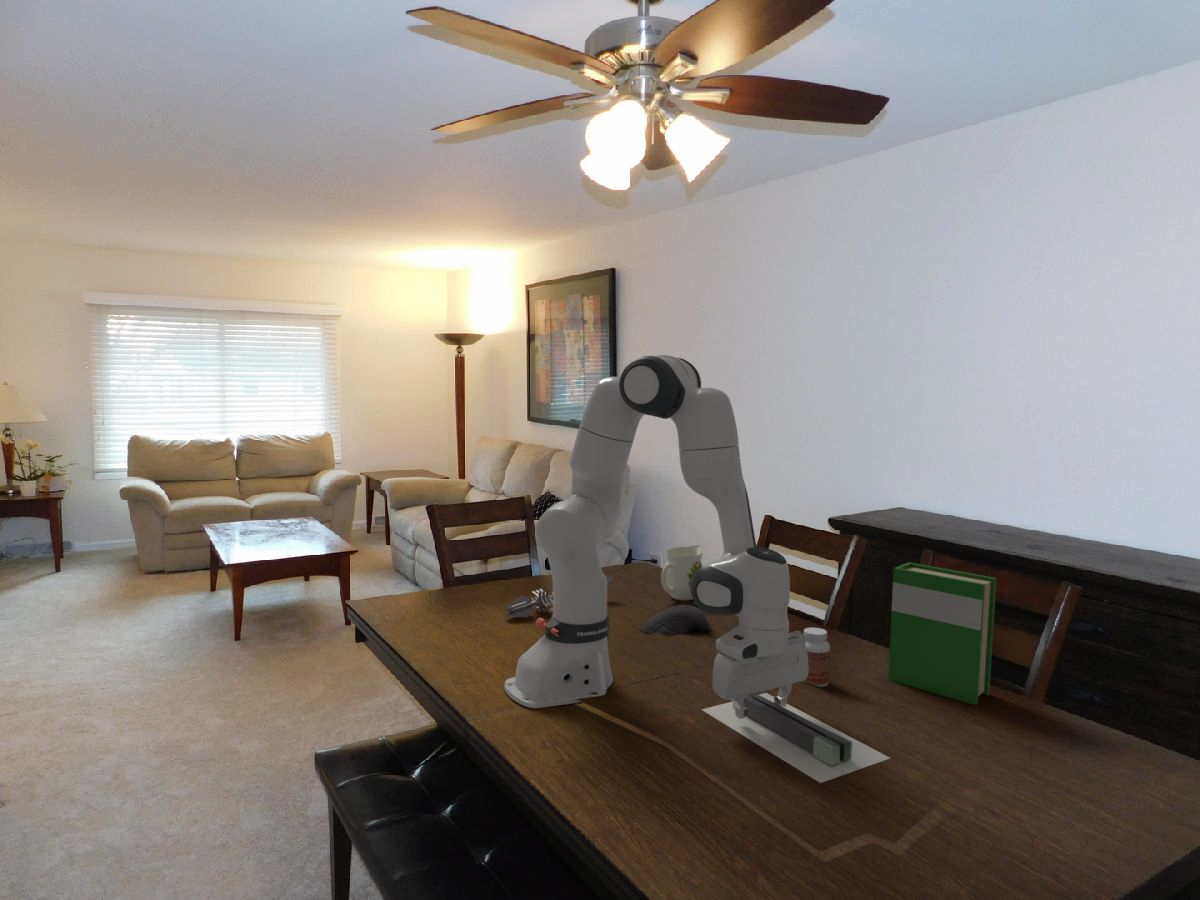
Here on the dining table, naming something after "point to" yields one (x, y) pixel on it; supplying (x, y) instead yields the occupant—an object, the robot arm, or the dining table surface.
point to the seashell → (677, 621)
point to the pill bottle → (817, 656)
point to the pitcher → (681, 570)
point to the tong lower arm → (793, 731)
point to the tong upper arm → (813, 728)
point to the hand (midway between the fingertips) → (760, 711)
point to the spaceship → (533, 603)
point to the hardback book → (942, 631)
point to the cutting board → (792, 751)
